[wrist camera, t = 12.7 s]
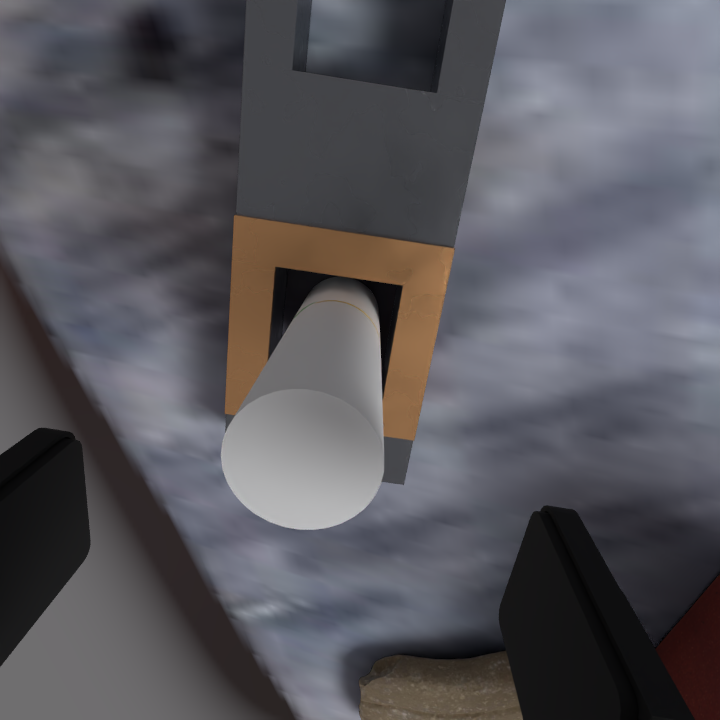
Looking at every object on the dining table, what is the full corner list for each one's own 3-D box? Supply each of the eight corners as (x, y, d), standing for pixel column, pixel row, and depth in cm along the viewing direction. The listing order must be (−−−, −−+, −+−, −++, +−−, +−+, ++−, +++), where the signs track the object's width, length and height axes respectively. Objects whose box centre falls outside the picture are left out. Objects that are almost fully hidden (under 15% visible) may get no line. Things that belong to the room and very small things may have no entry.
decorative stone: (352, 643, 36) (350, 690, 33) (561, 631, 35) (580, 678, 31) (367, 729, 39) (366, 779, 36) (558, 720, 38) (575, 771, 35)
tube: (367, 267, 25) (358, 369, 11) (388, 339, 27) (402, 511, 13) (292, 288, 26) (195, 412, 12) (316, 358, 27) (254, 543, 13)
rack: (282, -236, 19) (260, -336, 15) (530, -193, 19) (566, -281, 15) (240, 428, 29) (222, 462, 26) (400, 451, 29) (404, 487, 26)
